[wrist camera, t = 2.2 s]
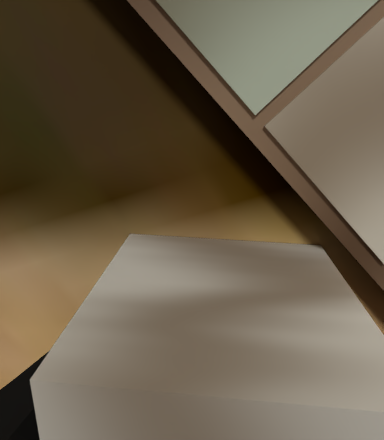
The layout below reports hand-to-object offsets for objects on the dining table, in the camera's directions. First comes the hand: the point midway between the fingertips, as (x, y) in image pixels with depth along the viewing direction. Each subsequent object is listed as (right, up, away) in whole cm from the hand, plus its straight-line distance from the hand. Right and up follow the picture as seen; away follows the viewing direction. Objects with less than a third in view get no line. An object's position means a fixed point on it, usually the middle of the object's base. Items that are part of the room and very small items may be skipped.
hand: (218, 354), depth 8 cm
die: (0, 0, +1) cm, 1 cm away
